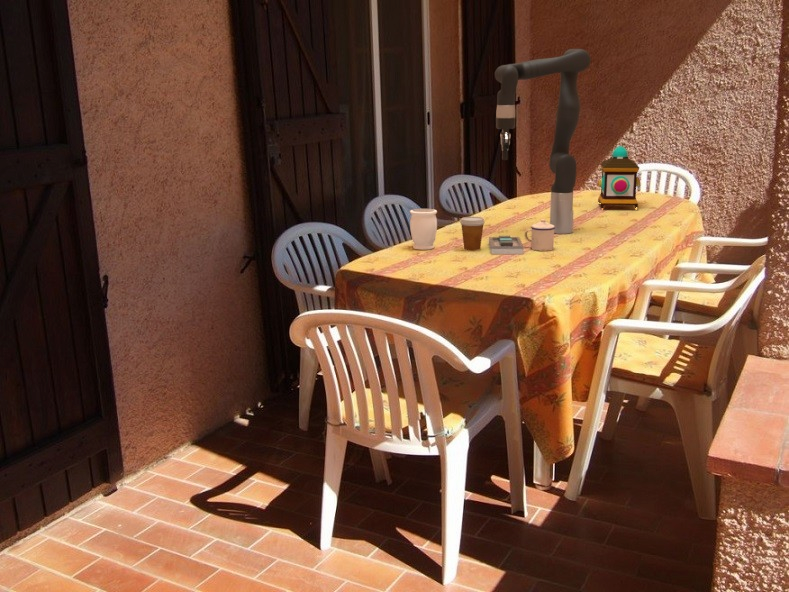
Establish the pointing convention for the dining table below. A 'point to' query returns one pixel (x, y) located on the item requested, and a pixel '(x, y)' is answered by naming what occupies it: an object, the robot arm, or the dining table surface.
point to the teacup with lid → (541, 236)
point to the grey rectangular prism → (504, 237)
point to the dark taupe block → (506, 243)
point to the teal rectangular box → (505, 239)
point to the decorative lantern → (618, 180)
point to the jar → (423, 228)
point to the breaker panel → (499, 249)
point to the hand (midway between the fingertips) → (504, 159)
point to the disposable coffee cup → (472, 232)
